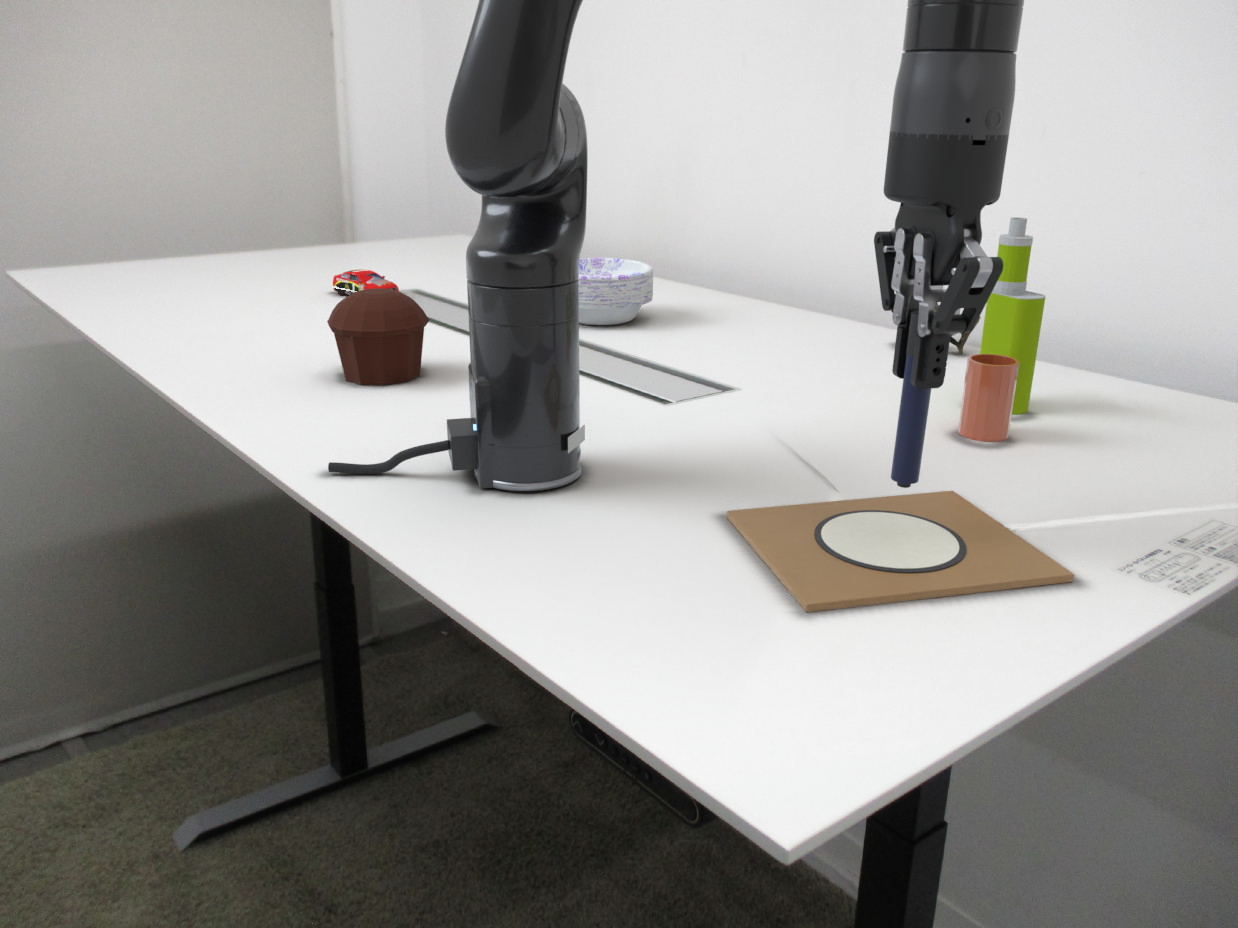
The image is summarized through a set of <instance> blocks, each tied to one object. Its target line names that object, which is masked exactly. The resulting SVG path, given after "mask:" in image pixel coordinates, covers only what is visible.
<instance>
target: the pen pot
mask: <svg viewBox="0 0 1238 928" xmlns="http://www.w3.org/2000/svg"><path fill="white" fill-rule="evenodd" d="M1018 369H1019V361H1018V360H1017V359H1015V358H1012V357H1009V356H1005V355H998V354H980V353H974V354H970V355H968V356H967V360H966V368H965V376H964V383H963V389H962V390H963V391H962V399H961V406H960V407H961V408H960V413H959V420H958V421H959V422H958V427H957V429H958V434H959V435H960V436H961V437H963V438H965V439H969V440H971V441H977V442H982V443H997V442H999V443H1000V442H1003V441H1006V440H1007V439H1008V438H1009V434H1010V429H1011V422H1012V416H1013V415H1012V409H1013V402H1014V395H1015V389H1016V382H1017V375H1018Z"/></svg>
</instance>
